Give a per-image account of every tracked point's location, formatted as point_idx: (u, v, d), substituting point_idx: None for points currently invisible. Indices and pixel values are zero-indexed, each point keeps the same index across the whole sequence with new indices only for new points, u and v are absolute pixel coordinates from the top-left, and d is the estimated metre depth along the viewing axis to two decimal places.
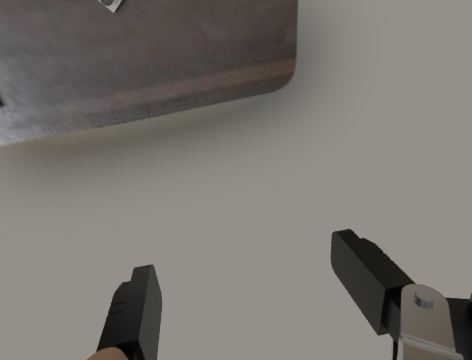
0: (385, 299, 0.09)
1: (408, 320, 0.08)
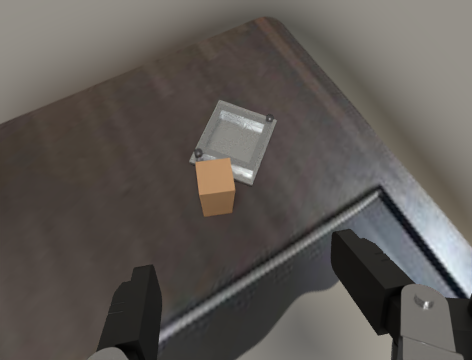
0: (385, 299, 0.09)
1: (408, 320, 0.08)
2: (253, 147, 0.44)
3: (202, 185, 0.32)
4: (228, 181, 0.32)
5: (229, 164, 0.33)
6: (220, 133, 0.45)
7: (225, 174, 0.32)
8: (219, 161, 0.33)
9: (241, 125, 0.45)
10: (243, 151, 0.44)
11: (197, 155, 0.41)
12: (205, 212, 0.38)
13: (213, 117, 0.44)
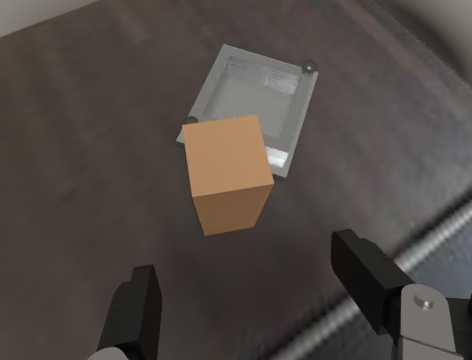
0: (385, 299, 0.09)
1: (408, 320, 0.08)
2: (283, 115, 0.26)
3: (198, 174, 0.14)
4: (257, 164, 0.14)
5: (257, 128, 0.15)
6: (227, 94, 0.27)
7: (249, 150, 0.14)
8: (234, 122, 0.15)
9: (261, 82, 0.28)
10: (267, 122, 0.26)
11: None
12: (206, 229, 0.21)
13: (215, 67, 0.26)
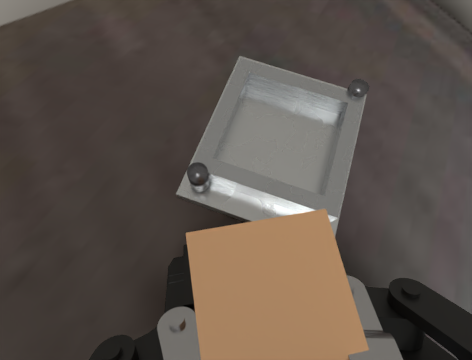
0: None
1: None
2: (323, 155, 0.19)
3: (219, 351, 0.07)
4: (337, 322, 0.07)
5: (328, 238, 0.08)
6: (246, 125, 0.20)
7: (317, 287, 0.07)
8: (285, 226, 0.08)
9: (291, 108, 0.20)
10: (302, 165, 0.19)
11: (195, 180, 0.16)
12: None
13: (230, 89, 0.19)
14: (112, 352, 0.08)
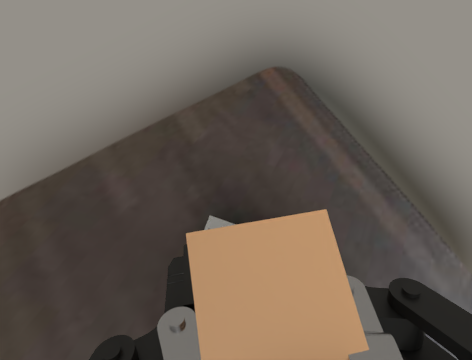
0: None
1: None
2: None
3: (219, 352, 0.07)
4: (337, 322, 0.07)
5: (328, 239, 0.08)
6: None
7: (317, 288, 0.07)
8: (285, 226, 0.08)
9: None
10: None
11: None
12: None
13: None
14: (112, 352, 0.08)
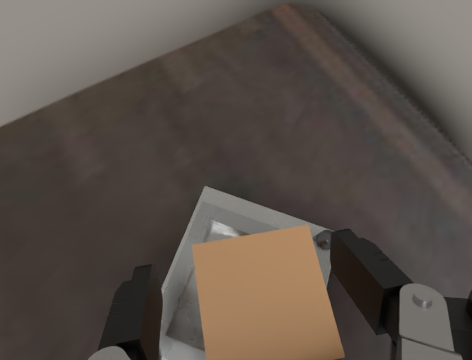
0: (384, 298, 0.09)
1: (406, 319, 0.08)
2: None
3: (219, 342, 0.08)
4: (315, 318, 0.09)
5: (310, 249, 0.09)
6: None
7: (300, 290, 0.09)
8: (274, 239, 0.10)
9: None
10: None
11: None
12: None
13: (189, 242, 0.18)
14: None
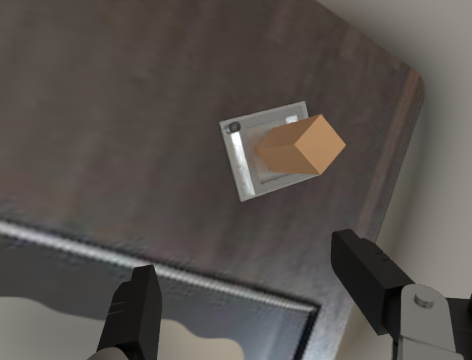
0: (385, 299, 0.09)
1: (408, 320, 0.08)
2: (279, 173, 0.37)
3: (304, 139, 0.26)
4: (324, 161, 0.27)
5: (339, 149, 0.27)
6: (270, 130, 0.36)
7: (328, 153, 0.27)
8: (336, 137, 0.27)
9: None
10: (268, 167, 0.36)
11: (231, 128, 0.32)
12: (261, 150, 0.33)
13: (282, 112, 0.35)
14: None
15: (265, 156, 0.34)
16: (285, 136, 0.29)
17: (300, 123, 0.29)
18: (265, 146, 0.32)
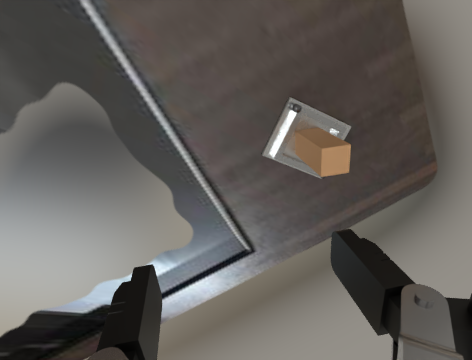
0: (385, 299, 0.09)
1: (408, 320, 0.08)
2: (297, 157, 0.48)
3: (329, 150, 0.37)
4: (329, 171, 0.38)
5: (343, 172, 0.39)
6: (315, 127, 0.46)
7: (335, 169, 0.38)
8: (347, 164, 0.38)
9: None
10: (294, 148, 0.47)
11: (294, 108, 0.43)
12: (300, 135, 0.44)
13: (332, 122, 0.45)
14: None
15: (299, 140, 0.45)
16: (320, 139, 0.40)
17: (335, 139, 0.40)
18: (304, 135, 0.43)
